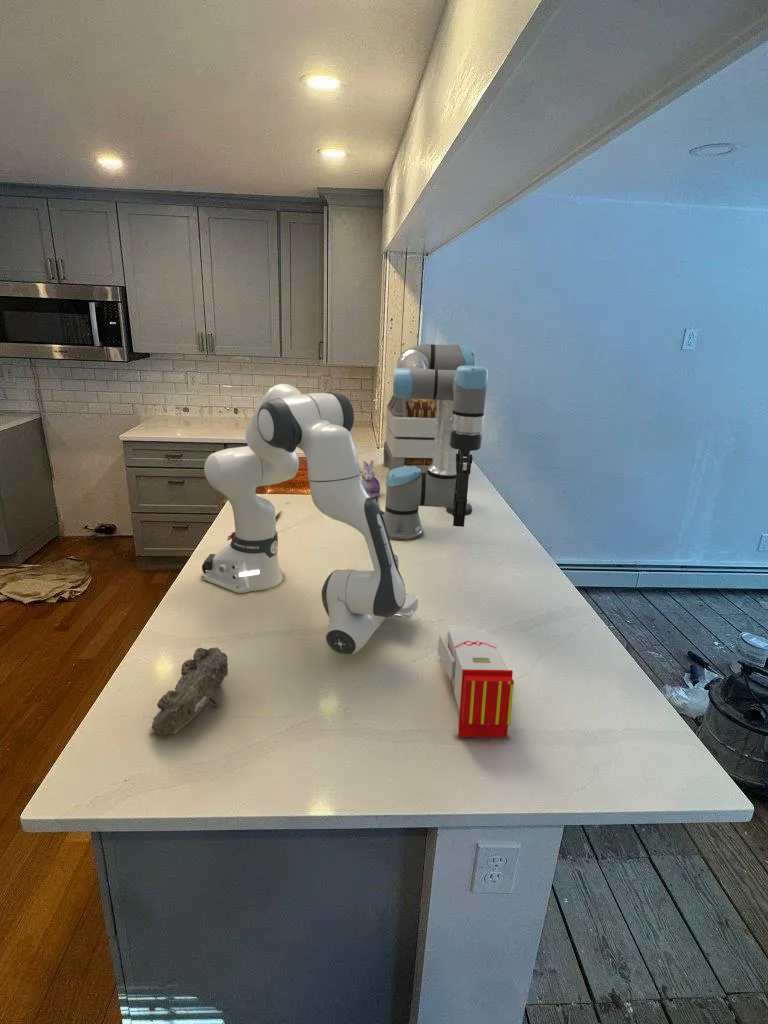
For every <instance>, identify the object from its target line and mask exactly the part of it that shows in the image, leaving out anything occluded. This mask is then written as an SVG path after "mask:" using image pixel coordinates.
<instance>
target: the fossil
mask: <svg viewBox="0 0 768 1024" xmlns="http://www.w3.org/2000/svg"><path fill="white" fill-rule="evenodd" d="M228 659H229V658H228V655H227V654H226V653H225V652H222V650H221V649H220V648H219V647H217V646H215V647H213V646H212V647H209V648H204V647H198V648H196V649H195V651H194V653H193V656H192V658H191V659H186V660H185V661H183V663H182V665H181V668H180V669H181V670H180V671H181V673H180V675H181V676H180V678H179V680H177V683H176V685H175V687H174V690H167V692H166V693H165V694H163V695H162V696H161V697H160V698H159V700H158V702H157V703H156V707H157V708H158V709H159V712H158V713H157V715H156V716H154V717H153V722H152V730H153V733H154V734H158V736H168V735H172V734H173V735H176V734H177V733H178V732H179V731H181V729H182V728H184V727H185V726H186V725H188V724H189V722H190V721H191V720H192V719H193V718H195V716H197V715H198V714H199V713H200V712H201V711H202V710H203V707H204V705H206V704H207V703H208V702H209V701H210V702H211V703H212V704H213V705H214V706H216V705H217V702H216V701H215V700H214V699H213V698H212V696H213V694H215V693H217V692H218V691H219V689H220V688H221V685H222V684H223V681H224V680H225V678H226V677H227V676H228V674H229V668H228V667H229V664H228Z"/></svg>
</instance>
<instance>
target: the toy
mask: <svg viewBox="0 0 768 1024" xmlns="http://www.w3.org/2000/svg"><path fill="white" fill-rule="evenodd" d="M446 640H447V643H446V641H445V639H444V636H443V635H442V634H439V637H438V646H437V656H438V657H439V659H440V661H441V663H442V666H443V668H444V670H445V672H446V674H447V677H448V679H449V681H450V684H451V687H452V690H453V693H454V697H455V701H456V705H457V708H458V711H459V714H458V715H459V716H458V730H457V731H458V732H457V737H458V738H508V731H509V726H510V725H511V717H512V707H513V697H514V696H513V695H514V684H515V680H514V679H513V673H514V671H513V670H512V669H508V667H507V665H506V662H505V661H504V659H503V658H502V655H501V653H500V651H499V649H498V647H497V643H496V639H495V637H494V635H493V634H491V632H490V631H489V629H467V628H466V629H465V628H463V629H461V628H460V629H459V628H448V630H447V639H446Z"/></svg>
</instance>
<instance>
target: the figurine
mask: <svg viewBox="0 0 768 1024" xmlns="http://www.w3.org/2000/svg"><path fill="white" fill-rule="evenodd" d="M362 464H363V470H362V472H361V479H362V480H361V481H362V484H363V487H364V489H365V491H366V492H367V494H368V495H369V497H370V498H371V499H373V498H375V499H376V495H377V497H379V496H380V491H381V484H380V481H379V480H378V478H376V473H375V471H374V465H375V460H370V462H369V464H368V462H367V461H366V460H364V461H363V463H362Z"/></svg>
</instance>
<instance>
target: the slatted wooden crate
mask: <svg viewBox="0 0 768 1024" xmlns="http://www.w3.org/2000/svg"><path fill="white" fill-rule="evenodd" d="M436 413H437V400H433V399H404V398H396V397H394V395H393V394H392V395H391V398H390V400H389V402H388V404H387V405H386V413H385V414H386V415H385V423H386V428H385V438H384V442H383V466H384V467H388V468H389V472H390V471H391V470H393V469H395V468H399V467H405V466H413V467H429V466H430V465H431V464H432V463H433V451H434V438H435V425H436Z"/></svg>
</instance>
